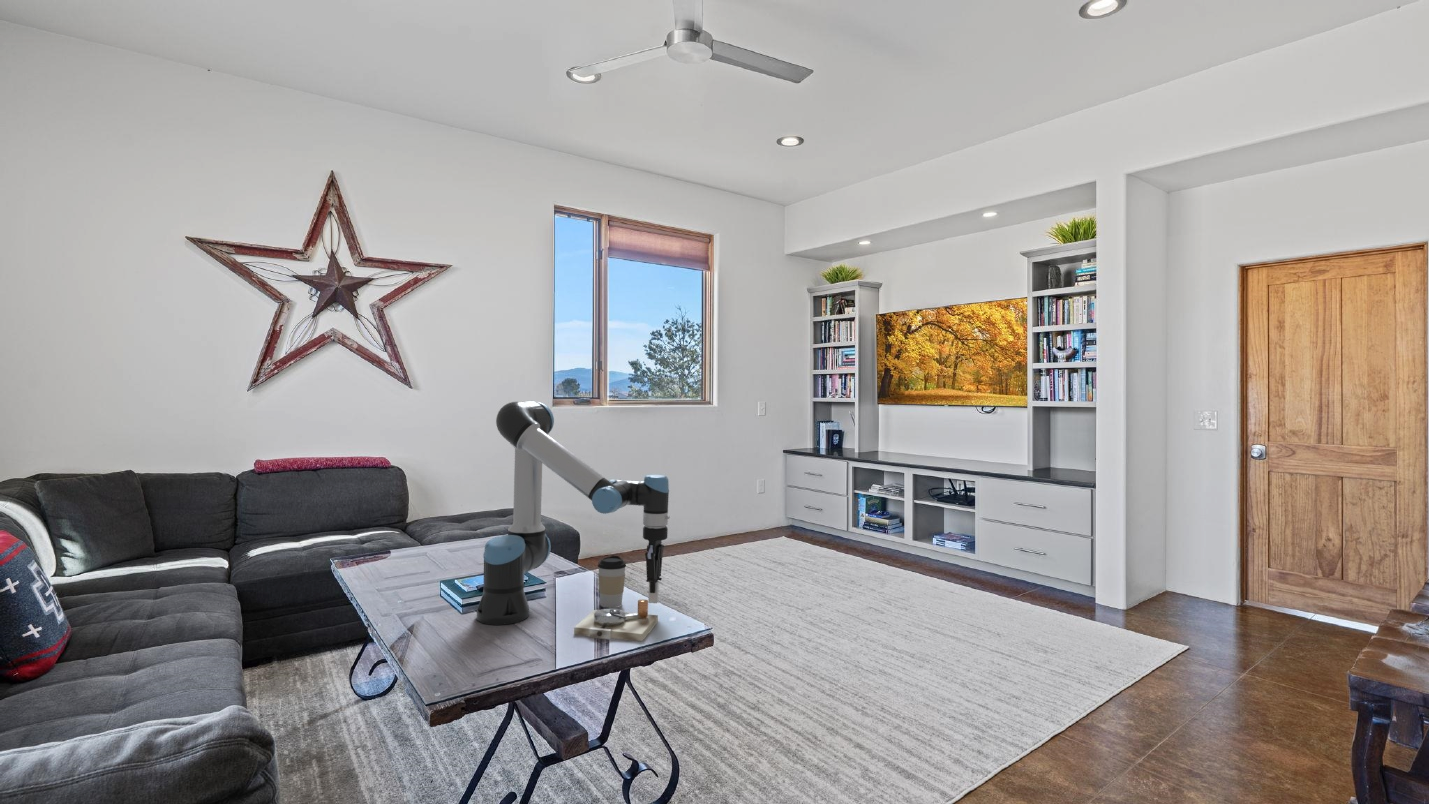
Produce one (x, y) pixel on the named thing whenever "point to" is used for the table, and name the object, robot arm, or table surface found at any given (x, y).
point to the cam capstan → (620, 615)
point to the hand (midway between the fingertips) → (653, 602)
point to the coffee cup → (611, 581)
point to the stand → (617, 628)
